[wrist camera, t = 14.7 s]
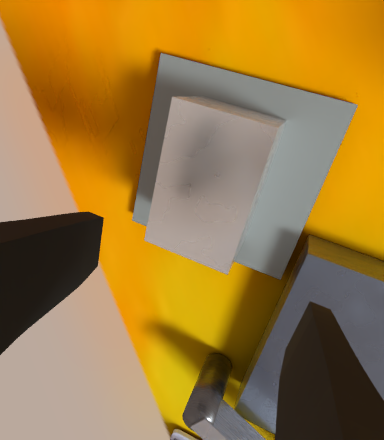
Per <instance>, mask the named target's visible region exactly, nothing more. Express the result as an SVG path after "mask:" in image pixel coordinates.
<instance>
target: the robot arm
mask: <svg viewBox="0 0 384 440" xmlns="http://www.w3.org/2000/svg"><path fill="white" fill-rule="evenodd" d="M103 219H104V218H103V217H100V216H98V215H96V214H93V213H91V212H77V213H69V214H61V215H54V216H47V217H40V218H33V219H26V220H17V221H8V222H0V355H1V354H2V353H3V352H4V351H5V350H6V349H7V348H8V347H9V346H10V345H11V344H12V343H13V342H14V341H15V340H16V339H17V338H18V337H19V336H20V335H21V334H23V333H24V332H25V331H26V330H27V329H28V328H29V327H31V326H32V325H33V324H34V323H35V322H37V321H38V320H39V319H40V318H42V317H43V316H44V315H45V314H46V313H48V312H49V311H50V310H51V309H52V308H54V307H55V306H56V305H57V304H59V303H60V302H61V301H62V300H64V299H65V298H66V297H67V296H68V295H70V294H71V293H72V292H73V291H74V290H75V289H77V288H78V287H79V286H80V285H81V284H82V283H83V282H84V281H85V280H86V278H88V276H89V275H90V274H91V273H92V272H93V271H94V270H95V268H96V267H97V266H98V259H99V251H100V243H101V235H102V227H103ZM170 440H198V439H196V438H194V437H192V436H190V435H189V434H187V433H185V432H183V431H181V430H179V429H174V431H173V433H172V436H171V439H170ZM275 440H384V400H383V399H382V397H381V395H380V394H379V392H378V391H377V389H376V388H375V386H374V385H373V383H372V382H371V380H370V378H369V377H368V375H367V373H366V372H365V370H364V369H363V367H362V365H361V363H360V362H359V360H358V358H357V357H356V355H355V353H354V351H353V349H352V348H351V346H350V344H349V342H348V340H347V339H346V337H345V335H344V333H343V331H342V329H341V327H340V326H339V324H338V322H337V320H336V318H335V316H334V314H333V313H332V311H331V309H328V308H326V307H323V306H321V305H319V304H316V303H314V302H311V301H310V302H309V304H308V306H307V308H306V310H305V312H304V314H303V316H302V318H301V320H300V321H299V323H298V325H297V327H296V329H295V331H294V333H293V335H292V337H291V339H290V341H289V343H288V345H287V347H286V349H285V354H284V359H283V363H282V368H281V373H280V379H279V389H278V402H277V416H276V431H275Z"/></svg>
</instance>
